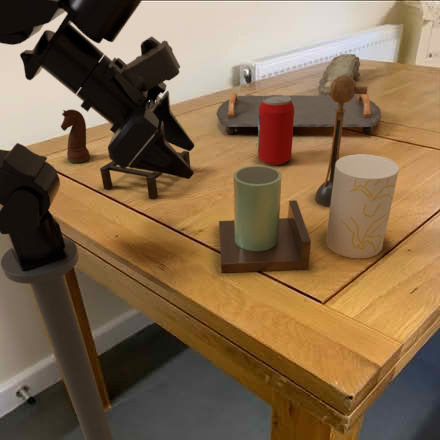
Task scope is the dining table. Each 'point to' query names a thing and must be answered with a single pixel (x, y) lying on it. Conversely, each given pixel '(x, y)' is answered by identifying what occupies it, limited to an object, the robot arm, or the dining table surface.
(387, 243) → the dining table surface
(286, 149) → the beverage can
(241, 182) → the green cup
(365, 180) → the white patterned canister
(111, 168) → the rack
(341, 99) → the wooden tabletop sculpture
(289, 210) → the shelf
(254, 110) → the serving tray
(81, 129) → the chess piece
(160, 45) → the robot arm
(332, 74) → the elongated rock
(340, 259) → the dining table surface
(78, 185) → the dining table surface
